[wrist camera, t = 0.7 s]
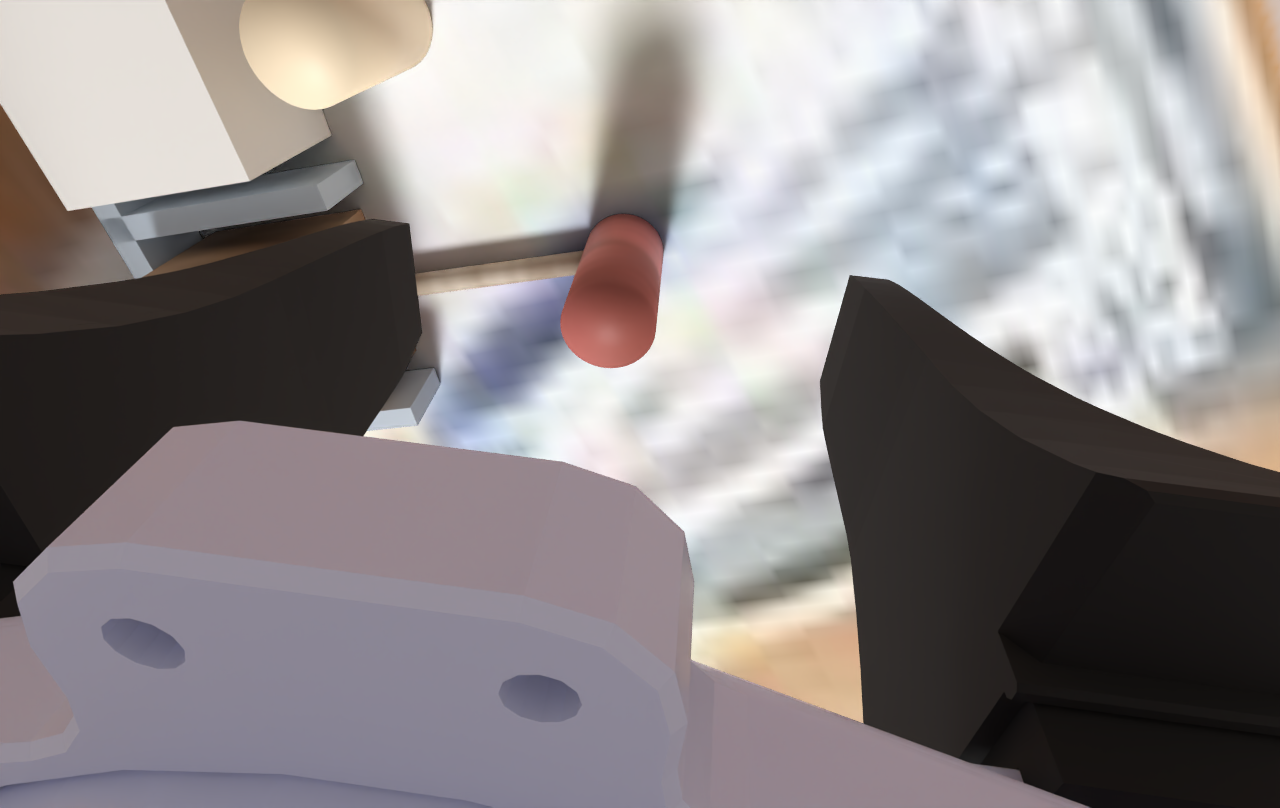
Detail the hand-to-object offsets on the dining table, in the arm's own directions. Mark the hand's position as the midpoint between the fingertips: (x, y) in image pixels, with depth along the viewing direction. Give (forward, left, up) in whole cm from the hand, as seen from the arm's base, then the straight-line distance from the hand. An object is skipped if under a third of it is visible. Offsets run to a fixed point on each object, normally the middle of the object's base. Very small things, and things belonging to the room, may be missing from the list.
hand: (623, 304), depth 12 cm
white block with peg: (-10, +4, -10) cm, 15 cm away
